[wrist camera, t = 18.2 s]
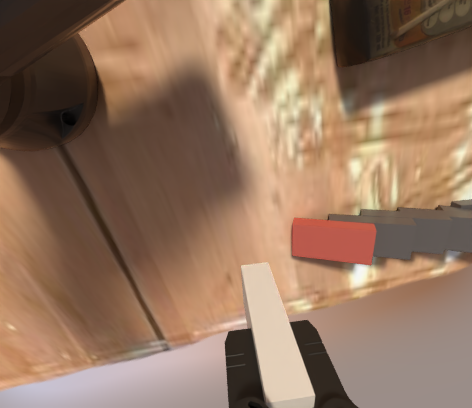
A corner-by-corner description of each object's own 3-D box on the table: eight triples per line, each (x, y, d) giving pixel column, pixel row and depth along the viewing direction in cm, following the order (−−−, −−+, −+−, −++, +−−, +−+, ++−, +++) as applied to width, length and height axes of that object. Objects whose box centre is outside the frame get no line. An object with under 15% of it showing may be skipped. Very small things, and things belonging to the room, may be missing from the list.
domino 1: (327, 251, 35) (409, 259, 32) (329, 220, 33) (416, 225, 30) (327, 244, 37) (405, 251, 34) (329, 214, 35) (412, 218, 32)
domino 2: (358, 246, 36) (442, 254, 32) (362, 215, 34) (452, 220, 30) (357, 239, 37) (436, 246, 34) (360, 209, 35) (445, 213, 32)
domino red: (292, 255, 35) (371, 265, 32) (292, 224, 33) (376, 231, 30) (294, 247, 37) (369, 256, 33) (294, 217, 35) (374, 223, 32)
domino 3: (394, 244, 36) (481, 253, 33) (401, 213, 34) (494, 220, 31) (391, 237, 38) (473, 245, 34) (397, 207, 36) (485, 213, 32)
